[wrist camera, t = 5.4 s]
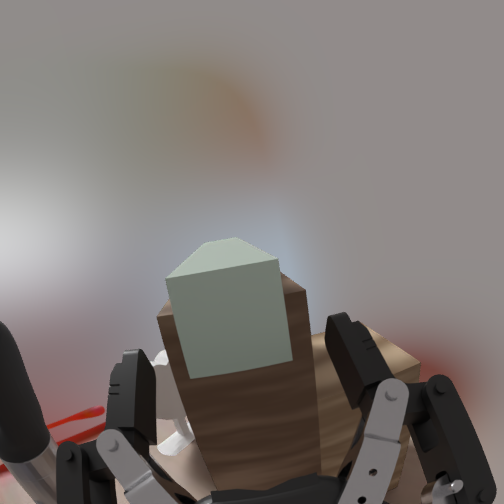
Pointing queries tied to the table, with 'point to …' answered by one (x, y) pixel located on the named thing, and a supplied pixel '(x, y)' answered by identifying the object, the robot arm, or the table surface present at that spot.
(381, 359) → the robot arm
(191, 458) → the table surface
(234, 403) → the stand
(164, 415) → the heart sculpture
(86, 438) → the table surface
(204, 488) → the table surface
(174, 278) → the pale green bar
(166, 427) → the table surface
